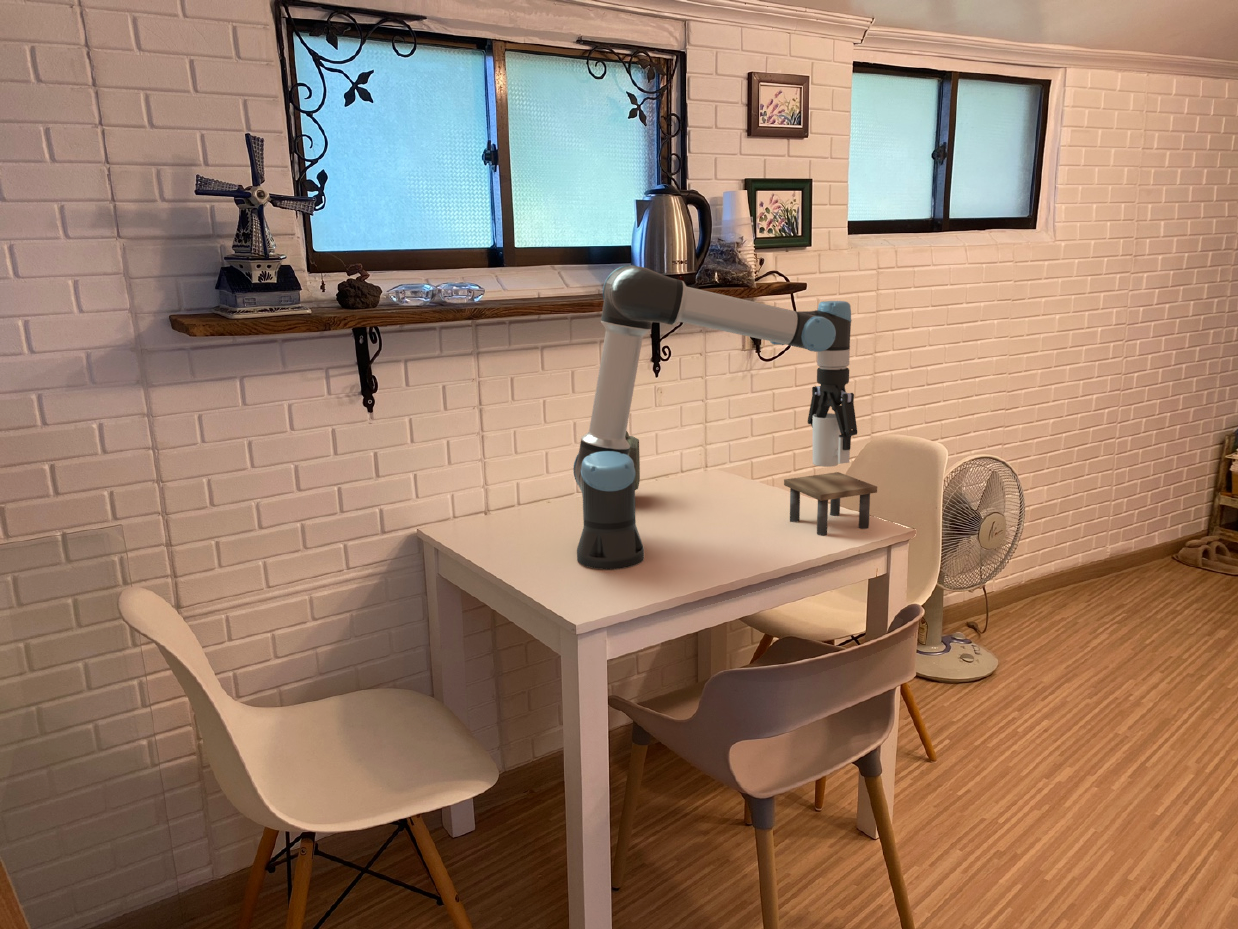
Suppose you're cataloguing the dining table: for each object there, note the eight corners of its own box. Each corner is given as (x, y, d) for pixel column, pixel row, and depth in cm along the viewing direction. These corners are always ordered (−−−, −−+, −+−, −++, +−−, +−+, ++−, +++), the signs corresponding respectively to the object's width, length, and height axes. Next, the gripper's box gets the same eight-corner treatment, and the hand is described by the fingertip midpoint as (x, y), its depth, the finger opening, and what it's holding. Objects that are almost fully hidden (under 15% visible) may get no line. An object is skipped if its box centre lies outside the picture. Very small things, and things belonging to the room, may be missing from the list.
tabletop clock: (608, 494, 260) (605, 407, 254) (640, 494, 259) (638, 406, 253) (603, 509, 246) (600, 417, 240) (637, 509, 245) (635, 416, 239)
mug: (805, 463, 227) (806, 415, 224) (825, 459, 231) (826, 412, 228) (836, 471, 219) (837, 421, 216) (855, 466, 222) (857, 417, 220)
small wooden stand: (819, 537, 218) (820, 494, 216) (783, 519, 233) (784, 479, 230) (875, 528, 224) (877, 486, 221) (836, 511, 238) (838, 472, 236)
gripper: (875, 371, 210) (872, 466, 216) (819, 360, 231) (817, 447, 236) (848, 373, 208) (845, 470, 213) (793, 363, 228) (792, 451, 233)
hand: (830, 458), depth 224 cm, fingers closed on mug, 10 cm apart
